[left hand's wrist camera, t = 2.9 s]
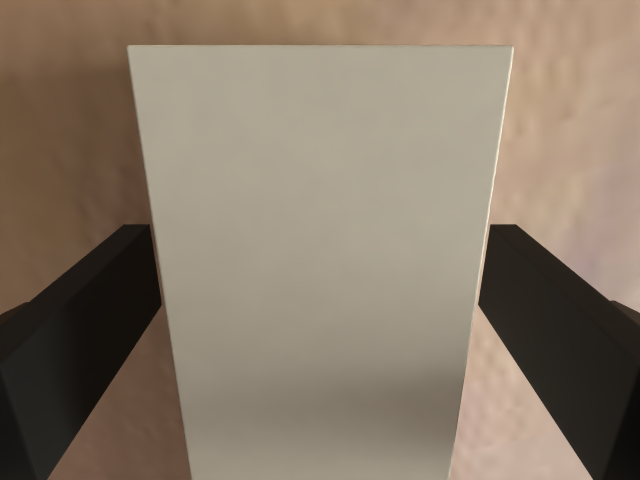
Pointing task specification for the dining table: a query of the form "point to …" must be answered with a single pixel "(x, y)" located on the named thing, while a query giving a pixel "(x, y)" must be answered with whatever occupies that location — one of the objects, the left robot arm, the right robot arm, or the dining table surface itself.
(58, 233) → the dining table surface
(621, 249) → the dining table surface
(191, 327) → the beam
